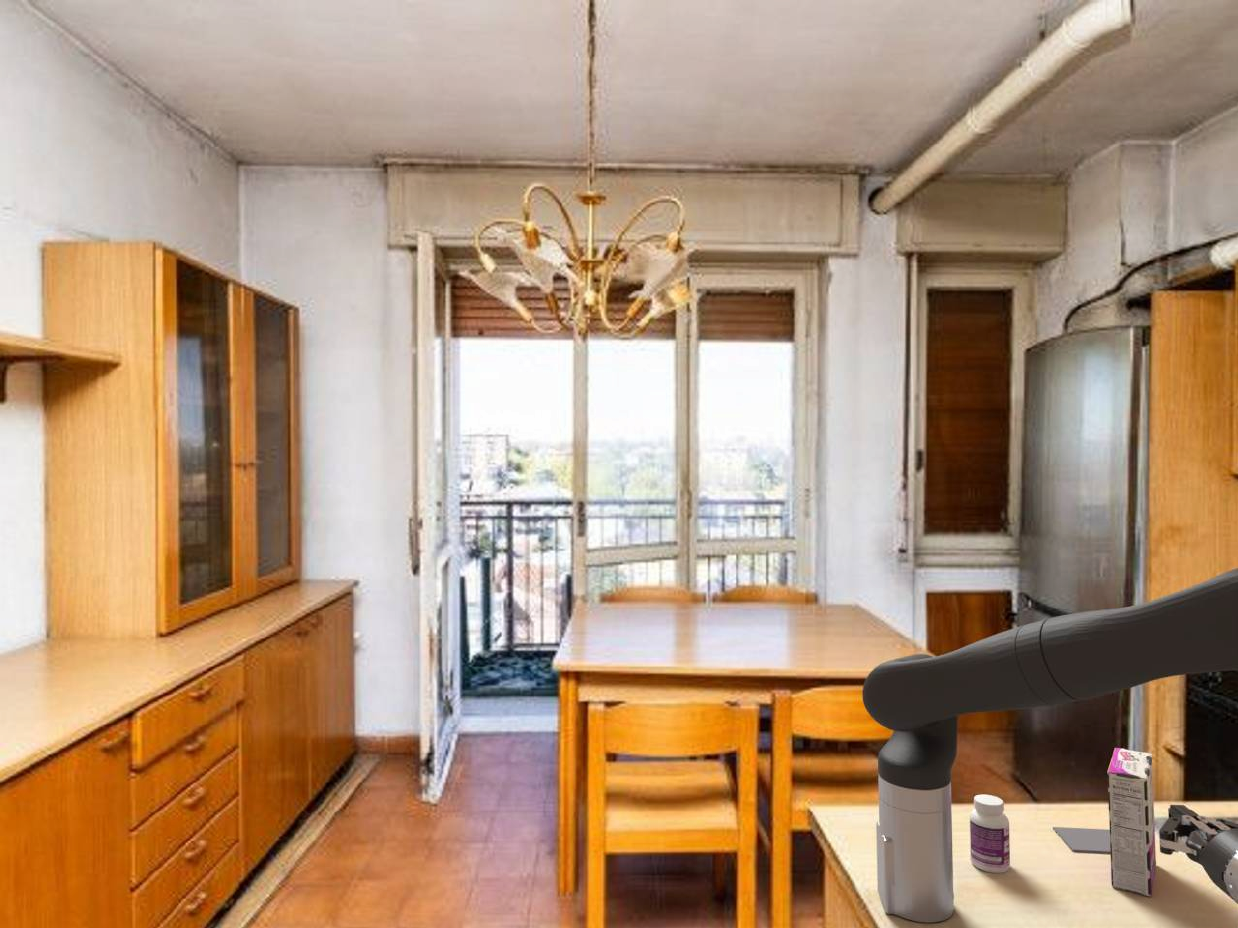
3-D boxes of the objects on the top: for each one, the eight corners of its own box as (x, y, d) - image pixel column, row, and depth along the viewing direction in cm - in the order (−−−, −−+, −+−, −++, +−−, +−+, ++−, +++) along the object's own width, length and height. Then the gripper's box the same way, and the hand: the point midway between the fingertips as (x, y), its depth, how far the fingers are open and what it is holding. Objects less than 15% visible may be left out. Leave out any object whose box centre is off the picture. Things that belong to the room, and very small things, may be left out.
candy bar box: (1116, 854, 117) (1113, 746, 117) (1156, 864, 114) (1154, 752, 114) (1108, 887, 108) (1105, 769, 109) (1152, 899, 105) (1149, 777, 105)
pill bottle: (1015, 875, 112) (1013, 808, 112) (975, 872, 113) (974, 806, 113) (1004, 857, 117) (1002, 792, 117) (966, 854, 118) (965, 790, 118)
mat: (1072, 851, 119) (1072, 849, 119) (1052, 828, 126) (1052, 826, 126) (1151, 855, 117) (1151, 853, 117) (1126, 832, 124) (1126, 830, 124)
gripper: (1334, 848, 82) (1231, 784, 99) (1196, 843, 84) (1119, 781, 101) (1337, 920, 82) (1234, 843, 99) (1199, 913, 84) (1121, 839, 101)
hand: (1176, 812), depth 100 cm, fingers closed
